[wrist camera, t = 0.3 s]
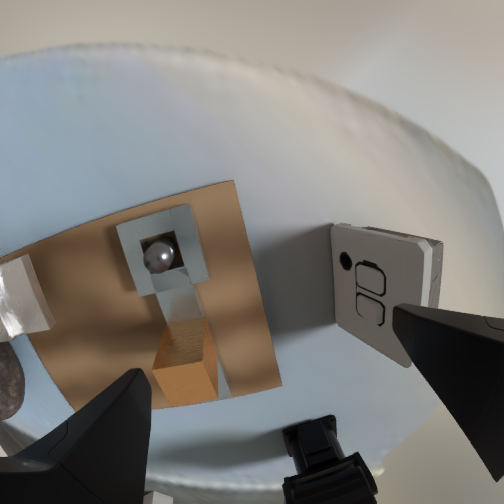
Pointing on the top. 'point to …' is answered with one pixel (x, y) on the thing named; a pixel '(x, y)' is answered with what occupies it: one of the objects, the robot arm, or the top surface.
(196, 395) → the link
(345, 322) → the electrical switch
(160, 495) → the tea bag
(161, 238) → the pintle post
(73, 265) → the base board
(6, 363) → the dark brown tapered bulb
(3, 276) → the block
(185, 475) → the top surface
